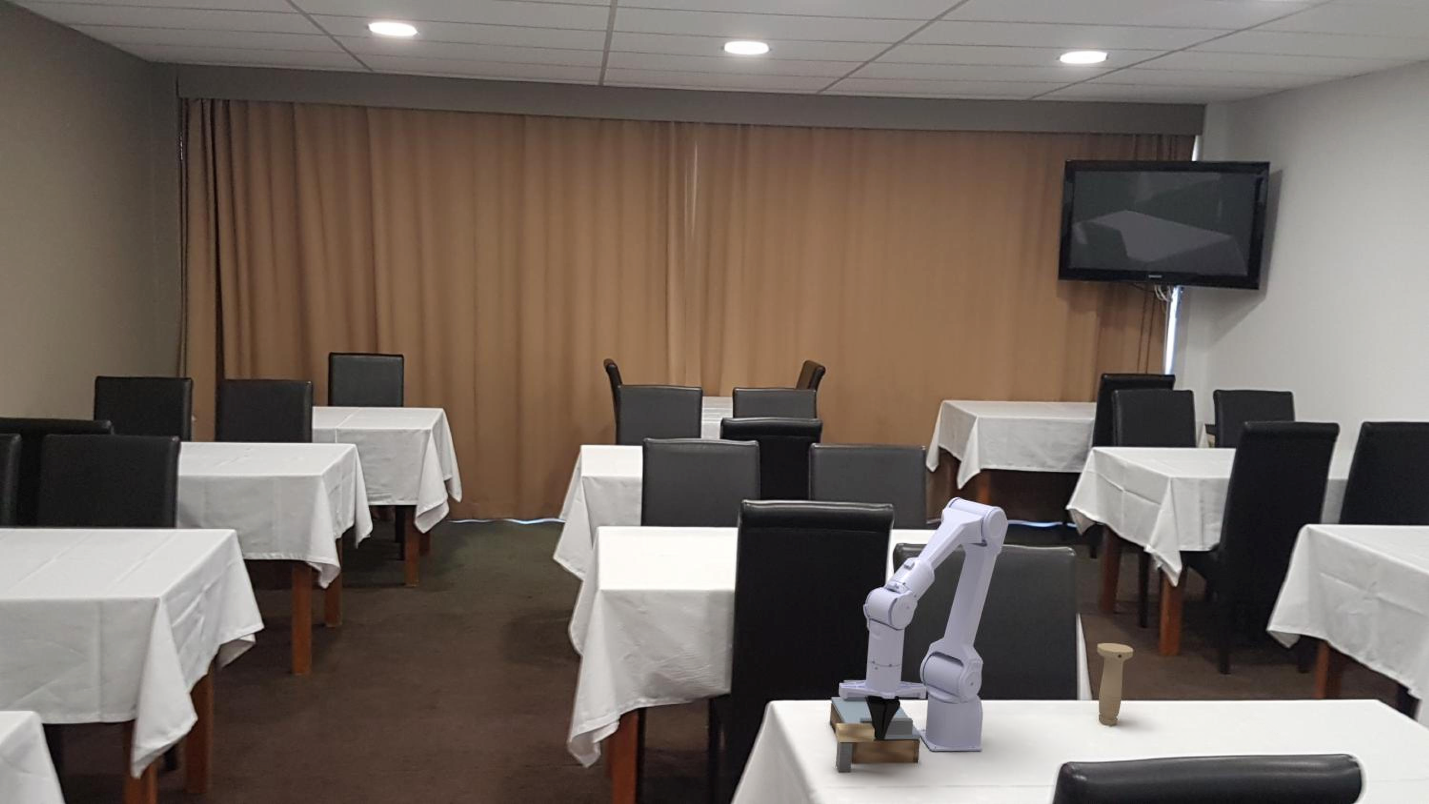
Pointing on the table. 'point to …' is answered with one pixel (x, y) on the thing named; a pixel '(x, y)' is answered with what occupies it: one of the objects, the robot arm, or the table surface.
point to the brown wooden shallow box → (881, 747)
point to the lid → (859, 713)
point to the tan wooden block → (854, 732)
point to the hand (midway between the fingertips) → (879, 737)
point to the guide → (844, 757)
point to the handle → (1111, 680)
